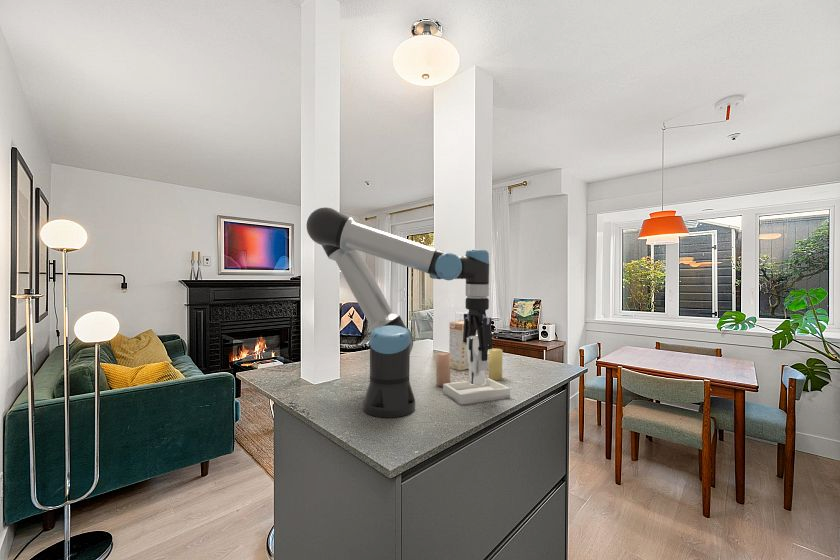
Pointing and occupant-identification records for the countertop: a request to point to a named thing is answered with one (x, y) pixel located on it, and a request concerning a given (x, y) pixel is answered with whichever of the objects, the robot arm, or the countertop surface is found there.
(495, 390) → the tray
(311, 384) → the countertop surface
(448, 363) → the terracotta canister
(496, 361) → the mustard canister
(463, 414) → the countertop surface
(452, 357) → the coffeecake box
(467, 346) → the beer glass
